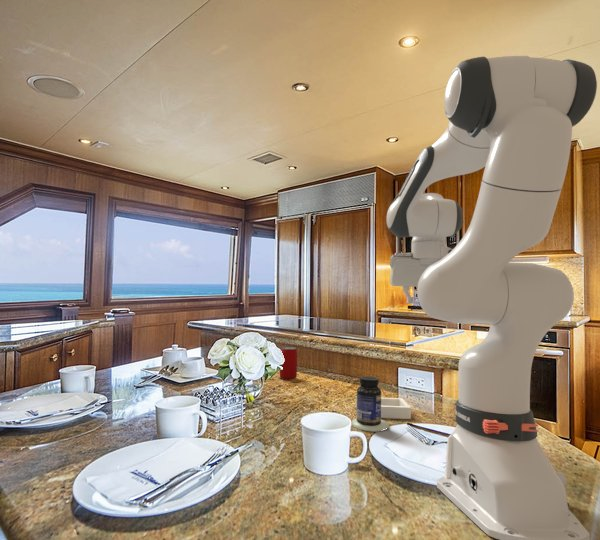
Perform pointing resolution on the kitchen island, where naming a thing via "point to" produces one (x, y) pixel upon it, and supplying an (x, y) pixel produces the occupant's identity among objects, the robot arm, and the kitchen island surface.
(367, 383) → the pill bottle
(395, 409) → the pocket
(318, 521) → the kitchen island surface
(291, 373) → the beverage can
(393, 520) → the kitchen island surface
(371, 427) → the coaster
